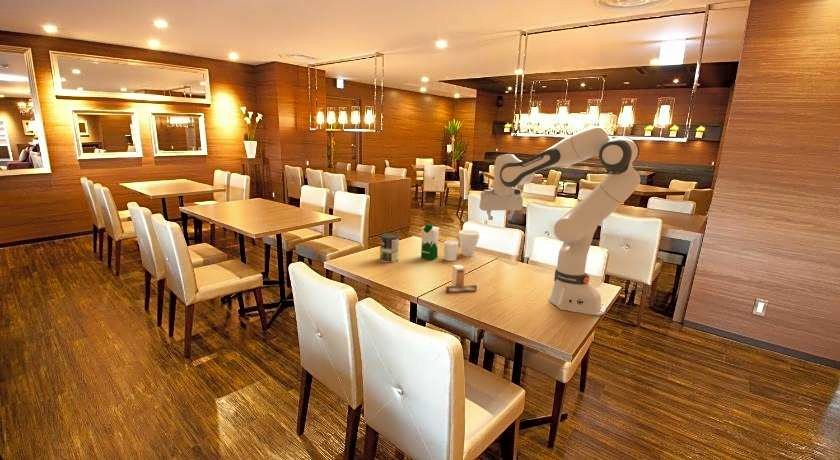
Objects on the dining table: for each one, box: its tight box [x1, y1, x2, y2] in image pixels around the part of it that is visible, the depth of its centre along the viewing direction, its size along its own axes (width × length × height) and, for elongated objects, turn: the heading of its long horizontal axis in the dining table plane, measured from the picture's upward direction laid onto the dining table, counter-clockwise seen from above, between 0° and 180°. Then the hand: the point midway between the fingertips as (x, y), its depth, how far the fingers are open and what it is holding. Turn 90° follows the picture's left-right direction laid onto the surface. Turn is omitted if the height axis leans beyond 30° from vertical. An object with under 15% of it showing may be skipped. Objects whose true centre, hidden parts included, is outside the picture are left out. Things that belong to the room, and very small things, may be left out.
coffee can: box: [379, 232, 400, 263], centre depth 213 cm, size 10×10×14 cm
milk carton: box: [420, 223, 440, 261], centre depth 218 cm, size 9×9×20 cm
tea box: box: [451, 264, 466, 286], centre depth 177 cm, size 5×4×10 cm
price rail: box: [445, 284, 478, 294], centre depth 173 cm, size 14×2×2 cm, turn 104°
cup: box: [458, 229, 480, 257], centre depth 228 cm, size 12×12×14 cm
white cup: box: [443, 240, 459, 262], centre depth 218 cm, size 8×8×10 cm
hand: (499, 219), depth 179 cm, fingers open, 8 cm apart
